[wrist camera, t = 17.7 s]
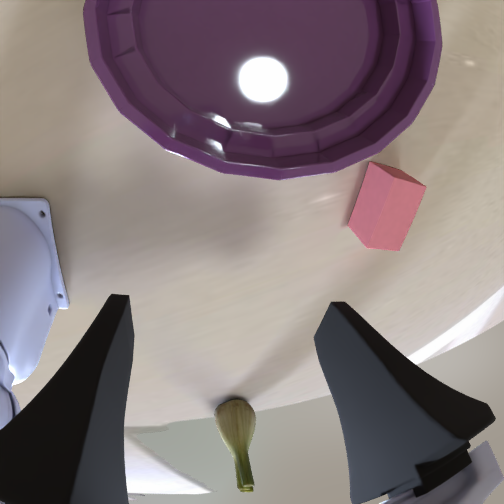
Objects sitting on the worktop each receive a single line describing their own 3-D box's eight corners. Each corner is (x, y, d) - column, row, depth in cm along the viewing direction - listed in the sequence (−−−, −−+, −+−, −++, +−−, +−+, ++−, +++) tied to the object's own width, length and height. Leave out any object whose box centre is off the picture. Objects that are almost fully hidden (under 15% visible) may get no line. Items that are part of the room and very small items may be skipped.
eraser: (378, 229, 21) (399, 251, 18) (347, 225, 20) (366, 248, 18) (401, 170, 18) (426, 186, 16) (369, 160, 17) (394, 176, 15)
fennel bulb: (226, 391, 30) (242, 488, 21) (262, 396, 32) (283, 484, 23) (206, 410, 33) (216, 496, 23) (239, 414, 35) (254, 494, 25)
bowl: (365, 177, 18) (398, 202, 15) (94, 144, 14) (67, 165, 11) (412, -33, 9) (450, -41, 6) (152, -100, 5) (144, -130, 2)
